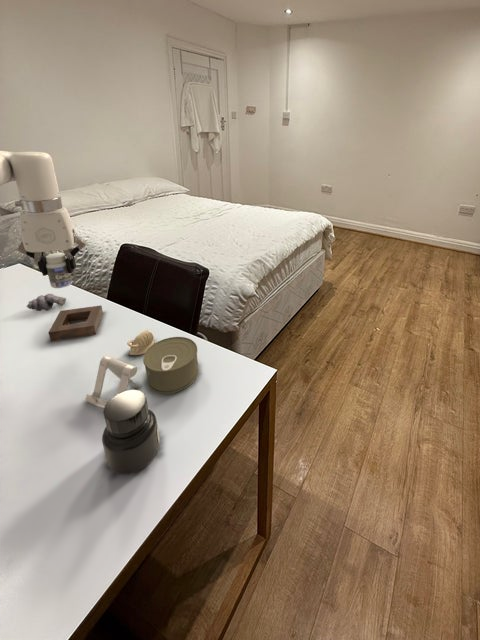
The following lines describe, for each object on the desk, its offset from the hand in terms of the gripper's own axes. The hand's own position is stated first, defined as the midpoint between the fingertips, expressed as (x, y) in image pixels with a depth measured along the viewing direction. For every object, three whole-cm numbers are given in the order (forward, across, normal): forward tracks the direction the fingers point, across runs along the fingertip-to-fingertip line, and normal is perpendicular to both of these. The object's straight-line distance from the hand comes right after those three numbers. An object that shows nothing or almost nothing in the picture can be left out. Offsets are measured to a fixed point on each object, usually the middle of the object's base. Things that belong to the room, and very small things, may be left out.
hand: (59, 271), depth 84 cm
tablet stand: (+20, +15, -27) cm, 37 cm away
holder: (+20, 0, +4) cm, 20 cm away
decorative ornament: (+20, +18, -12) cm, 30 cm away
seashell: (+20, -11, +16) cm, 28 cm away
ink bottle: (+20, +20, -42) cm, 51 cm away
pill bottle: (+4, 0, 0) cm, 4 cm away
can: (+20, +27, -24) cm, 41 cm away
